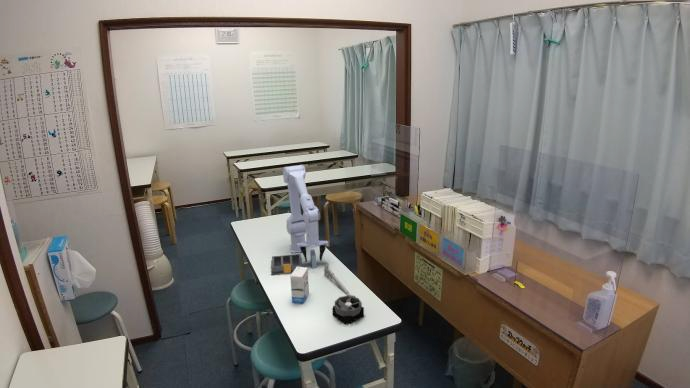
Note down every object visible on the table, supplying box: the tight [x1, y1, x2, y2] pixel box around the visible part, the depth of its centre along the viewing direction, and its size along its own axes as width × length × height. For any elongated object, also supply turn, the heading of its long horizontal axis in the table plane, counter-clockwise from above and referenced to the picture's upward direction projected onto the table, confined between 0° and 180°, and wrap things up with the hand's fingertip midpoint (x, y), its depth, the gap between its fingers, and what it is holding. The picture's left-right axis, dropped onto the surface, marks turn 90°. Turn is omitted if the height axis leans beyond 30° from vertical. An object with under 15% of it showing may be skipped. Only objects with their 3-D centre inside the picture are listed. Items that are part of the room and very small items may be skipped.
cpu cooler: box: [331, 294, 365, 325], centre depth 148 cm, size 10×6×10 cm
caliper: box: [323, 263, 351, 296], centre depth 169 cm, size 21×1×6 cm, turn 31°
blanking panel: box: [309, 248, 317, 269], centre depth 187 cm, size 8×2×6 cm, turn 10°
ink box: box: [289, 266, 310, 304], centre depth 159 cm, size 9×5×12 cm, turn 168°
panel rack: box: [270, 253, 304, 276], centre depth 186 cm, size 14×15×5 cm
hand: (313, 260), depth 188 cm, fingers open, 6 cm apart
